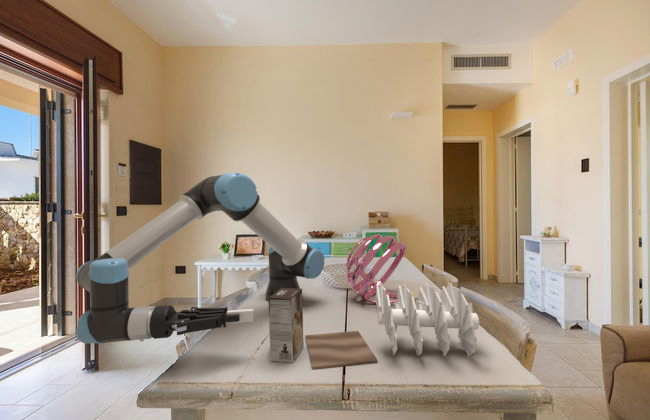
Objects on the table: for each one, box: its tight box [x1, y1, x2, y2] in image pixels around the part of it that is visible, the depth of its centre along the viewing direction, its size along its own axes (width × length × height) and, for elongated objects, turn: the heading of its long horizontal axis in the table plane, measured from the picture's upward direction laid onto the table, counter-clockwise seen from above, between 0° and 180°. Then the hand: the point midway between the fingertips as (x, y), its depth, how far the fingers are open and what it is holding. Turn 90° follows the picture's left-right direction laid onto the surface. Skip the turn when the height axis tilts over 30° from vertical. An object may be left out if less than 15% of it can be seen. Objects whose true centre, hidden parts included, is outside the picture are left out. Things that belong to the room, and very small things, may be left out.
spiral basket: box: [345, 233, 407, 305], centre depth 123 cm, size 28×28×27 cm
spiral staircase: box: [375, 282, 480, 358], centre depth 78 cm, size 18×18×25 cm
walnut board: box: [305, 330, 379, 370], centre depth 81 cm, size 18×16×1 cm
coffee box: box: [268, 288, 304, 364], centre depth 79 cm, size 9×6×16 cm
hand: (253, 315), depth 77 cm, fingers closed
